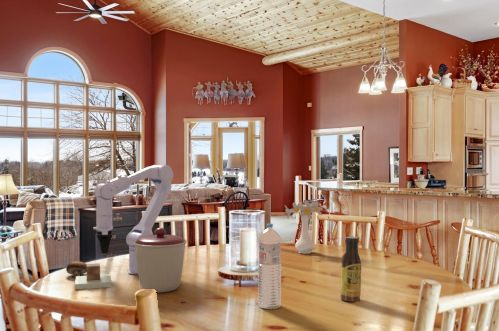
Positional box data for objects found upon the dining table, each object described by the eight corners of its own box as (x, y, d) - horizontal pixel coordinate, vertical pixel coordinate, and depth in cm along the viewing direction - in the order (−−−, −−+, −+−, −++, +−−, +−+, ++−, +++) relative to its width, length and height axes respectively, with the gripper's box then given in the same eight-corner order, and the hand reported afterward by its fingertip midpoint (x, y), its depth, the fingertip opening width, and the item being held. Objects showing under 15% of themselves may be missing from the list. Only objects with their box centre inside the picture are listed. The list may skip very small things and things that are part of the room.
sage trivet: (110, 278, 180) (110, 274, 180) (111, 286, 169) (111, 281, 169) (76, 281, 176) (76, 276, 176) (74, 289, 165) (74, 284, 165)
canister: (193, 284, 173) (193, 225, 173) (176, 297, 155) (176, 232, 155) (146, 281, 176) (146, 223, 176) (123, 294, 159) (123, 230, 159)
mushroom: (79, 271, 179) (79, 255, 182) (61, 278, 180) (61, 262, 184) (92, 277, 185) (92, 262, 189) (75, 283, 187) (75, 269, 190)
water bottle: (257, 303, 149) (257, 222, 149) (279, 302, 150) (279, 222, 149) (259, 310, 142) (259, 225, 142) (282, 309, 143) (282, 225, 143)
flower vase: (282, 250, 238) (282, 199, 237) (319, 250, 239) (319, 199, 239) (287, 255, 225) (287, 202, 224) (325, 255, 226) (326, 201, 226)
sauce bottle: (347, 303, 149) (348, 239, 149) (336, 298, 155) (336, 236, 155) (365, 301, 152) (365, 238, 151) (353, 296, 157) (353, 235, 157)
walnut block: (99, 276, 175) (99, 263, 175) (100, 279, 171) (100, 265, 171) (86, 277, 174) (86, 264, 174) (86, 280, 170) (86, 266, 170)
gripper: (93, 213, 188) (93, 248, 188) (93, 217, 174) (93, 255, 174) (112, 213, 190) (112, 247, 190) (113, 217, 176) (113, 254, 176)
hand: (104, 251), depth 182 cm, fingers open, 7 cm apart
